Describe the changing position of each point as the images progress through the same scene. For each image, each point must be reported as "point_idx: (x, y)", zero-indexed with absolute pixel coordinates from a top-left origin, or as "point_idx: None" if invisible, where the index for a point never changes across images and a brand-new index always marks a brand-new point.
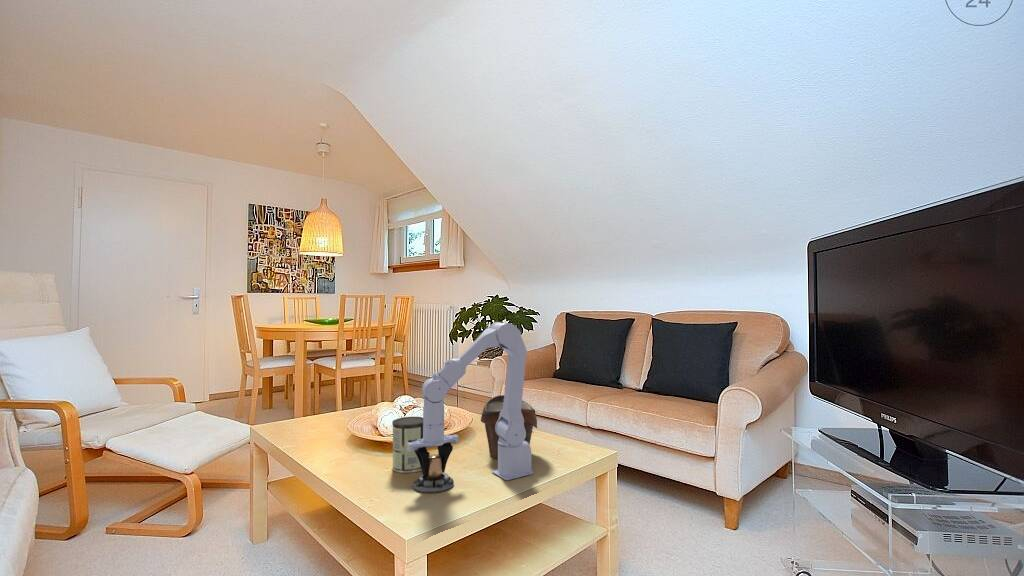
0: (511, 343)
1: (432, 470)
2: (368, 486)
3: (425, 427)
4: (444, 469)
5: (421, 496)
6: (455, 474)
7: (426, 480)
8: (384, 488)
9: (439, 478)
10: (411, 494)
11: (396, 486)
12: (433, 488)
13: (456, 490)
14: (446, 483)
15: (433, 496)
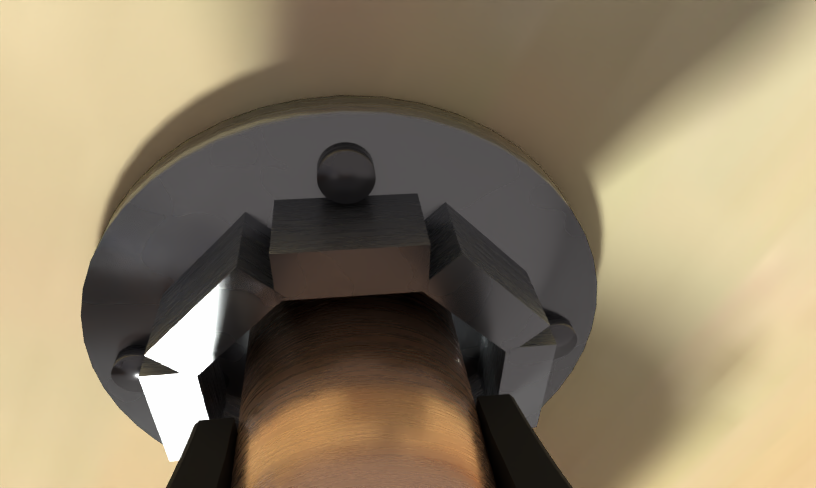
0: None
1: (447, 439)
2: (784, 479)
3: None
4: (192, 453)
5: (638, 108)
6: (10, 452)
7: (507, 331)
8: (740, 420)
9: (315, 321)
10: (678, 217)
11: (647, 419)
12: (446, 187)
13: (112, 29)
14: (217, 241)
15: (522, 17)
